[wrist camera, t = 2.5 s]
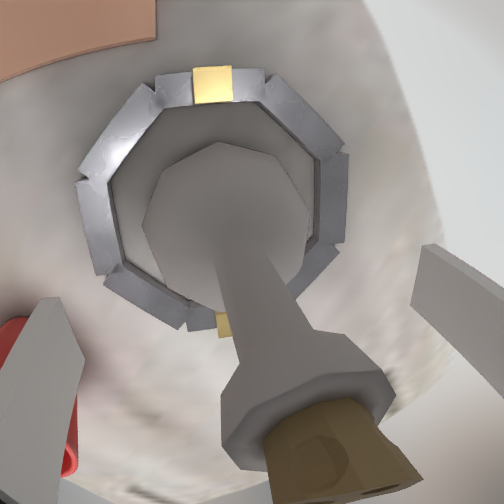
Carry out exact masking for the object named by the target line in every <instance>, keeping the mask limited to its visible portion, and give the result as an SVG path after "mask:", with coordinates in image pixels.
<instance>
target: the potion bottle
mask: <svg viewBox="0 0 504 504" xmlns="http://www.w3.org/2000/svg"><path fill="white" fill-rule="evenodd" d="M309 222H310V213H309V210H308V208H307V206H306V203H305V201H304V200H303V198H302V196H301V195H300V193H299V192H298V190H297V188H296V187H295V185H294V184H293V182H292V181H291V179H290V177H289V176H288V174H287V173H286V171H285V170H284V168H283V167H282V165H281V164H280V162H279V161H278V159H277V158H276V156H273V155H269V154H266V153H262V152H258V151H254V150H250V149H246V148H242V147H238V146H234V145H230V144H226V143H222V142H216V143H214V144H212V145H210V146H208V147H206V148H204V149H202V150H200V151H198V152H196V153H194V154H192V155H190V156H188V157H186V158H184V159H183V160H181V161H179V162H177V163H175V164H173V165H171V166H170V167H168V168H166V169H164V170H162V173H161V175H160V178H159V180H158V183H157V185H156V188H155V190H154V193H153V196H152V198H151V201H150V204H149V206H148V209H147V212H146V215H145V218H144V220H143V223H142V228H143V230H144V233H145V236H146V238H147V241H148V243H149V246H150V248H151V251H152V253H153V255H154V258H155V260H156V262H157V265H158V267H159V269H160V272H161V274H162V276H163V279H164V281H165V283H166V285H167V287H168V288H169V289H171V290H173V291H175V292H177V293H179V294H181V295H183V296H185V297H187V298H189V299H191V300H193V301H195V302H197V303H200V304H202V305H204V306H206V307H208V308H210V309H212V310H215V311H218V312H226V313H227V317H228V321H229V325H230V329H231V332H232V336H233V340H234V344H235V347H236V351H237V355H238V358H239V362H240V364H239V366H238V367H237V369H236V371H235V372H234V374H233V376H232V377H231V379H230V381H229V382H228V384H227V385H226V387H225V389H224V390H223V392H222V394H221V441H222V447H223V449H224V450H225V451H226V452H227V454H228V455H229V456H230V457H231V459H232V460H233V461H234V462H235V464H236V465H237V466H238V467H239V468H240V469H241V470H250V471H261V472H268V477H269V482H270V488H271V494H272V500H273V504H345V503H349V502H353V501H357V500H360V499H365V498H370V497H374V496H379V495H383V494H388V493H393V492H396V491H400V490H402V489H405V488H408V487H410V486H412V485H414V484H416V483H417V482H420V481H421V480H423V478H422V477H421V475H420V474H419V473H418V472H417V470H416V469H415V468H414V467H413V465H412V464H411V463H410V462H409V460H408V459H407V458H406V457H405V455H404V454H403V453H402V452H401V450H400V449H399V448H398V446H396V445H394V444H393V443H392V442H390V441H389V440H388V439H387V438H386V437H385V436H384V435H383V433H382V432H381V431H380V430H379V429H378V427H377V426H378V425H379V423H380V422H381V420H382V418H383V417H384V415H385V413H386V412H387V410H388V409H389V407H390V405H391V403H392V402H393V400H394V398H395V397H396V394H395V392H394V390H393V388H392V387H391V385H390V383H389V381H388V380H387V378H386V376H385V374H384V372H383V371H382V369H381V368H380V367H378V366H377V365H376V364H375V363H374V362H373V361H372V360H371V359H370V358H369V357H368V356H367V355H366V354H365V353H364V352H363V351H362V350H361V349H359V348H358V347H357V346H356V345H355V344H354V343H353V342H352V341H351V340H350V339H349V338H348V337H347V336H346V335H345V334H338V333H331V332H324V331H318V330H313V328H312V327H311V325H310V323H309V322H308V320H307V318H306V317H305V315H304V314H303V312H302V310H301V309H300V307H299V305H298V304H297V302H296V301H295V299H294V297H293V296H292V294H291V292H290V291H289V289H288V288H287V286H286V284H287V283H288V282H289V281H290V280H291V279H293V278H294V277H295V276H296V275H297V273H298V272H299V270H300V268H301V266H302V263H303V257H304V251H305V246H306V240H307V234H308V228H309Z"/></svg>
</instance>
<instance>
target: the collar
mask: <svg viewBox="0 0 504 504" xmlns="http://www.w3.org/2000/svg"><path fill="white" fill-rule="evenodd" d="M236 102H256V103H257V104H258V105H259V106H260V107H261V108H263V109H264V110H265V111H266V112H267V113H268V114H269V115H270V116H271V117H272V118H273V119H274V120H275V121H277V122H278V123H279V124H280V125H281V126H282V127H283V128H284V129H285V130H286V131H287V132H288V133H289V134H290V135H291V136H292V137H293V138H294V139H295V140H296V141H297V142H298V143H299V144H300V145H301V146H302V147H303V148H304V149H305V150H306V151H307V152H308V153H309V154H310V155H311V156H312V157H313V158H314V159H315V176H314V231H313V236H312V237H311V238H310V239H309V240H308V242H307V243H306V246H305V251H304V257H303V263H302V266H301V268H300V270H299V272H298V273H297V275H296V276H295V277H294V278H293V279H291V280H290V281H289V282H288V283H287V284H286V286H287V288H288V289H289V291H290V292H291V294H292V296H293V297H294V299H295V300H296V298H297V297H298V296H299V295H300V294H301V293H302V292H303V291H304V290H305V289H306V288H307V287H308V286H309V285H310V284H311V283H312V282H313V281H314V280H315V279H316V278H317V276H318V275H319V274H320V273H321V272H322V271H323V270H324V269H325V268H326V267H327V266H328V265H329V264H330V263H331V261H332V260H333V259H334V258H335V257H336V256H337V255H338V254H339V253H340V252H339V251H338V250H337V249H336V248H335V247H334V246H333V245H332V244H337V243H344V241H345V227H346V211H347V190H348V157H349V154H345V153H342V152H337V151H338V150H339V149H340V148H341V147H342V146H343V145H344V144H345V143H344V142H343V141H342V140H341V139H340V138H339V136H338V135H337V134H336V133H335V132H334V131H333V130H332V129H331V128H330V127H329V125H328V124H327V123H326V122H325V121H324V120H323V119H322V118H321V117H320V116H319V115H318V114H317V113H316V112H315V111H314V109H313V108H312V107H311V106H310V105H309V104H308V103H307V102H306V101H305V100H304V99H303V98H302V97H301V96H300V95H299V94H298V93H297V92H296V91H295V90H294V89H293V88H292V87H291V86H290V85H289V84H287V83H286V82H285V81H284V80H283V79H282V78H281V77H280V76H279V75H278V74H277V73H276V74H274V75H272V76H271V77H270V78H269V79H268V80H267V81H266V82H265V70H264V68H245V69H231V66H211V67H197V68H193V70H192V71H190V72H180V73H171V74H163V75H155V92H154V91H153V90H152V89H150V88H149V87H148V86H146V85H145V84H144V83H141V84H140V85H139V87H138V88H137V89H136V90H135V91H134V93H133V94H132V95H131V96H130V97H129V99H128V100H127V101H126V102H125V104H124V105H123V106H122V107H121V109H120V110H119V111H118V113H117V114H116V115H115V116H114V118H113V119H112V120H111V122H110V123H109V124H108V126H107V127H106V129H105V130H104V131H103V133H102V134H101V135H100V137H99V138H98V140H97V141H96V143H95V144H94V145H93V147H92V148H91V150H90V151H89V153H88V154H87V156H86V157H85V159H84V160H83V162H82V163H81V165H80V167H79V168H78V171H80V172H81V173H82V174H84V175H85V176H86V177H88V178H83V179H79V180H78V181H76V182H75V186H76V191H77V197H78V202H79V207H80V212H81V217H82V221H83V226H84V230H85V235H86V239H87V243H88V247H89V251H90V255H91V259H92V262H93V266H94V270H95V273H96V276H98V275H106V274H108V275H107V277H106V278H105V281H104V284H103V285H104V286H106V287H107V288H109V289H110V290H112V291H113V292H115V293H116V294H118V295H120V296H121V297H123V298H124V299H126V300H128V301H129V302H131V303H132V304H134V305H136V306H137V307H139V308H141V309H142V310H144V311H146V312H147V313H149V314H151V315H152V316H154V317H156V318H157V319H159V320H161V321H163V322H164V323H166V324H168V325H170V326H171V327H173V328H175V329H177V330H178V329H179V328H180V327H181V326H182V325H183V323H184V322H185V321H186V324H187V329H188V332H192V331H199V330H206V329H213V328H217V331H218V336H219V338H224V337H231V336H232V332H231V329H230V325H229V321H228V317H227V313H226V312H218V311H215V310H212V309H210V308H208V307H206V306H204V305H202V304H200V303H197V302H195V301H193V300H191V301H188V300H187V299H185V298H183V297H182V296H180V295H179V294H177V293H175V292H174V291H172V290H171V289H169V288H167V287H166V286H164V285H163V284H161V283H160V282H158V281H157V280H155V279H153V278H152V277H150V276H149V275H147V274H146V273H144V272H143V271H141V270H140V269H138V268H137V267H135V266H134V265H132V264H131V263H129V262H128V261H126V260H125V257H124V252H123V248H122V243H121V238H120V233H119V228H118V223H117V218H116V213H115V207H114V201H113V195H112V189H111V183H110V179H111V178H112V176H113V175H114V174H115V172H116V171H117V169H118V168H119V167H120V165H121V164H122V162H123V161H124V160H125V158H126V157H127V156H128V154H129V153H130V152H131V150H132V149H133V148H134V146H135V145H136V144H137V142H138V141H139V140H140V139H141V137H142V136H143V135H144V134H145V132H146V131H147V130H148V129H149V127H150V126H151V125H152V124H153V122H154V121H155V120H156V119H157V118H158V116H159V115H160V114H161V113H162V112H163V110H164V109H168V108H176V107H185V106H195V105H206V104H219V103H236Z"/></svg>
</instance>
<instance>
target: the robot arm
mask: <svg viewBox="0 0 504 504" xmlns="http://www.w3.org/2000/svg"><path fill="white" fill-rule="evenodd" d="M410 306H411V307H412V308H413V309H414V310H416V311H417V312H418V313H419V314H420V315H421V316H422V317H423V318H424V319H425V320H426V321H427V322H428V323H429V324H431V325H432V326H433V327H434V328H435V329H436V330H437V331H438V332H439V333H440V334H441V335H442V336H443V337H444V338H445V339H446V340H447V341H448V342H449V343H450V344H451V345H452V346H453V347H454V348H455V349H456V350H457V351H458V352H459V353H461V355H462V356H463V357H464V358H465V359H466V360H467V361H468V362H469V363H470V364H471V365H472V366H473V367H474V368H475V369H476V370H477V371H478V372H479V373H480V374H481V375H482V376H483V377H484V378H485V379H486V380H487V381H488V382H489V383H490V384H491V386H493V388H494V389H495V390H496V391H497V392H498V393H499V394H500V395H501V396H502V397H503V398H504V288H503V287H501V286H500V285H498V284H497V283H496V282H494V281H493V280H491V279H490V278H488V277H487V276H485V275H484V274H482V273H481V272H479V271H478V270H476V269H475V268H473V267H472V266H470V265H469V264H467V263H466V262H464V261H462V260H461V259H459V258H458V257H456V256H454V255H453V254H451V253H450V252H448V251H446V250H445V249H443V248H442V247H440V246H438V245H437V244H429V245H424V246H422V248H421V254H420V260H419V265H418V270H417V275H416V280H415V285H414V289H413V294H412V298H411V303H410ZM85 361H86V360H85V358H84V356H83V354H82V352H81V349H80V347H79V345H78V343H77V340H76V338H75V336H74V333H73V331H72V328H71V326H70V324H69V321H68V319H67V316H66V313H65V311H64V308H63V305H62V303H61V300H60V297H53V298H44V299H41V300H40V301H39V303H38V304H37V306H36V308H35V309H34V311H33V312H32V314H31V316H30V317H29V319H28V321H27V322H26V324H25V326H24V327H23V329H22V331H21V333H20V334H19V336H18V338H17V340H16V341H15V343H14V345H13V347H12V349H11V351H10V353H9V354H8V356H7V358H6V360H5V362H4V364H3V366H2V368H1V370H0V504H57V500H58V491H59V483H60V476H61V469H62V463H63V456H64V451H65V445H66V440H67V435H68V430H69V425H70V420H71V416H72V411H73V407H74V402H75V398H76V394H77V390H78V386H79V382H80V379H81V375H82V371H83V368H84V364H85Z"/></svg>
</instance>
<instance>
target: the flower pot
mask: <svg viewBox="0 0 504 504" xmlns="http://www.w3.org/2000/svg"><path fill="white" fill-rule="evenodd" d="M28 319H29V318H28V317H17V318H13V319H11V320H9V321H7V322H6V323H5V324H4V325H3V326H2V327H1V328H0V370H1V368H2V366H3V364H4V362H5V360H6V358H7V356H8V354H9V353H10V351H11V349H12V347H13V345H14V343H15V341H16V340H17V338H18V336H19V334H20V333H21V331H22V329H23V327H24V326H25V324H26V322H27V321H28ZM77 467H78V428H77V394H76V398H75V402H74V407H73V411H72V416H71V420H70V425H69V430H68V435H67V440H66V445H65V451H64V456H63V463H62V469H61V476H60V478H61V477H66V476H69V475H71V474H73V473H74V472H75V471H76V470H77Z"/></svg>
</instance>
